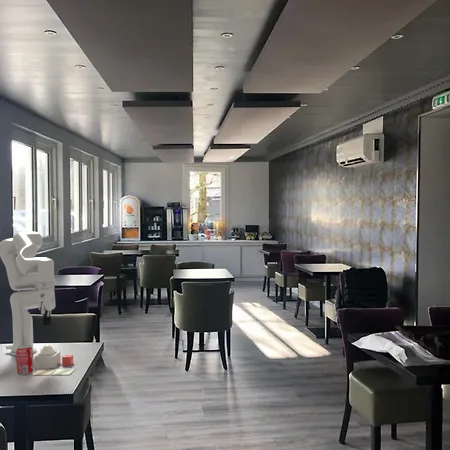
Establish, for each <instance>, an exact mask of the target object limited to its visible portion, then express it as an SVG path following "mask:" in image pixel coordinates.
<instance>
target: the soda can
mask: <svg viewBox="0 0 450 450" xmlns="http://www.w3.org/2000/svg"><path fill="white" fill-rule="evenodd" d="M15 357H16V358H15V359H16V360H15V361H16V365H15V366H16V373H17V374H18V375H20V376H26V375H30V374H32V373H34V353H33V349H32V347H31V345H21V346H18V349H17V351H16V355H15Z"/></svg>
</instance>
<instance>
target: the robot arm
mask: <svg viewBox="0 0 450 450" xmlns="http://www.w3.org/2000/svg"><path fill="white" fill-rule="evenodd" d="M43 242H44V241H43V237H42V234H40V232H37V231H26V232H25V231H23V232H17V233H15V234H14V235H13V236H12V238H6V239H3V240H2V241H0V259H1V260H2V262H3V264H4V266H5V271H6V275H7V279H8V283H9V287H10V289H12V291H15V292H13V293H12V294H11V295H10V298H9V302H10V307H11V314H12V315H11V316H12V341H13V342H12V344H6V345H5V349H6V350H10V351H9V353H10V355H11V356H16V351H17V349H18V346H21V345H31V347H32V349H33V354H35V353H36V352H37V347H36V348H35V347H34V328H33V327H34V326H33V322H34V321H33V316H32V315H31V313H30V312H29V311H28V310H30V309H31V310H32V309H37V308H38V310H39V311H40V314H41V316H42V325H43V326H50V325H52V311H53V310H54V309H55V308H56V295H55V288H56V287H55V261H54V260H53V259H52V258H48V257H35V256H36V255H37V254H38V250H39V249H40V248H41V247H42V245H43Z"/></svg>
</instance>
